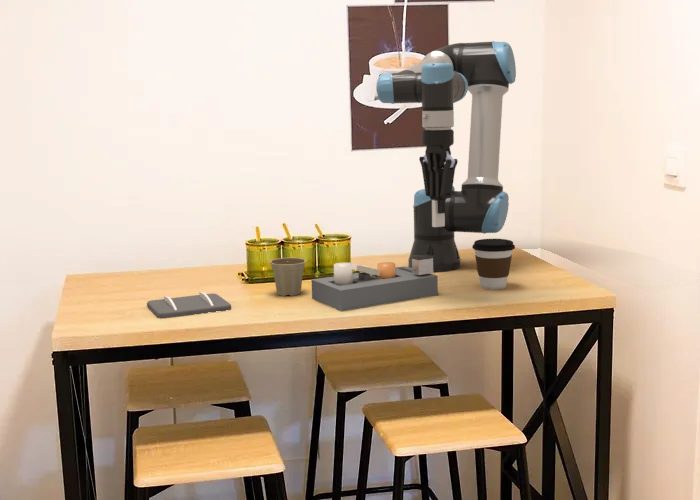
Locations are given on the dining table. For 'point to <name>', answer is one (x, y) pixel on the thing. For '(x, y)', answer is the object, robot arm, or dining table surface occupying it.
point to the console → (374, 289)
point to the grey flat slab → (188, 305)
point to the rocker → (365, 269)
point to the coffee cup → (493, 262)
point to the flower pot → (288, 275)
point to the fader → (422, 264)
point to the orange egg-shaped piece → (386, 270)
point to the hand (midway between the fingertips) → (438, 226)
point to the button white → (343, 274)
